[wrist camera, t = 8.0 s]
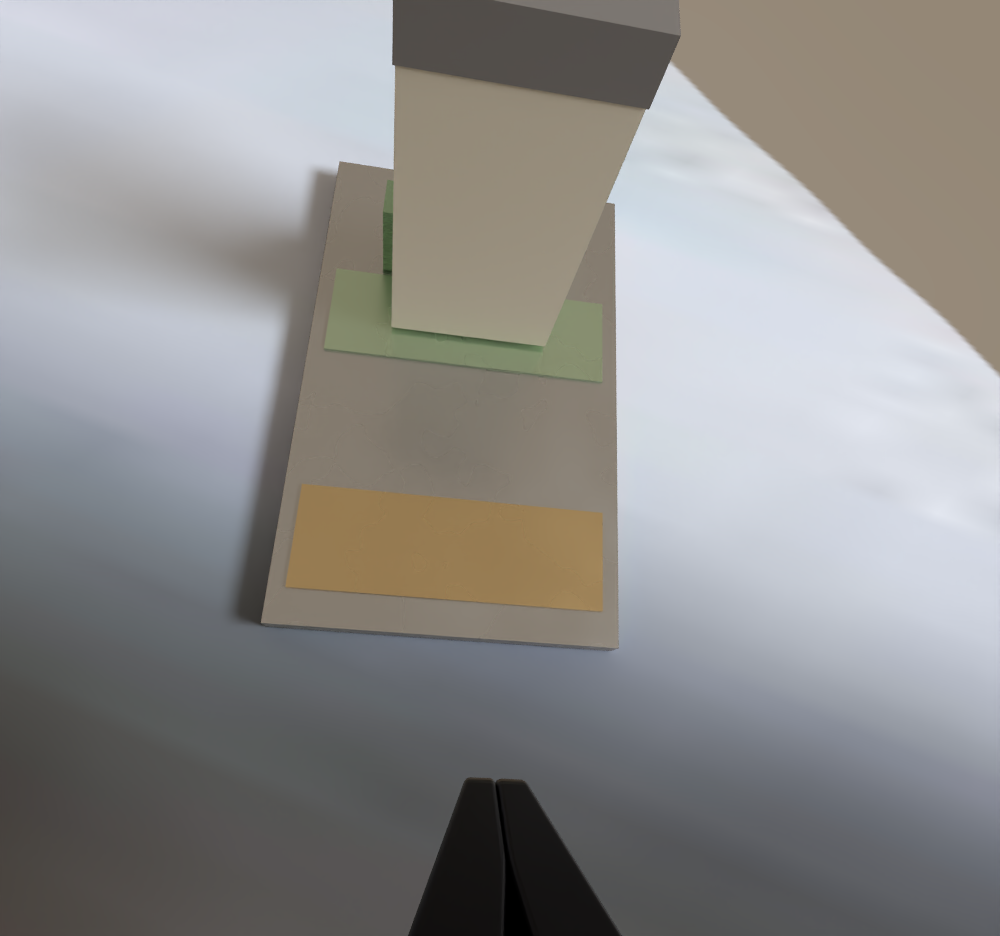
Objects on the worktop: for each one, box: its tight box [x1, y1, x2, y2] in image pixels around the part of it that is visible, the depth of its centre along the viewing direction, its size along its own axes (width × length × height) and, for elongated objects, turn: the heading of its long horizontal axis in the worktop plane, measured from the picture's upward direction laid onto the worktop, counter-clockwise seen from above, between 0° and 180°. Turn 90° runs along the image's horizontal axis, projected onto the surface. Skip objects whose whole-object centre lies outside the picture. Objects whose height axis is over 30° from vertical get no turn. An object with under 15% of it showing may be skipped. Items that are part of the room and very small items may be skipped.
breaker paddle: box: [391, 0, 681, 346], centre depth 18 cm, size 2×5×11 cm, turn 87°
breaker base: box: [261, 162, 619, 651], centre depth 21 cm, size 16×10×4 cm, turn 177°
